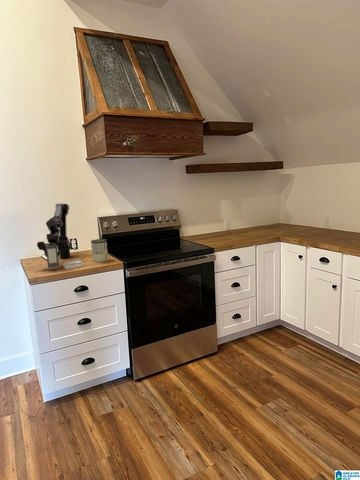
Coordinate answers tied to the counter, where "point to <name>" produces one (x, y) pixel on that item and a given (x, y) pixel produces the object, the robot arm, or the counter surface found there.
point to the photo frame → (52, 255)
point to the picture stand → (72, 264)
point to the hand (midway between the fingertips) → (52, 256)
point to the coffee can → (99, 250)
